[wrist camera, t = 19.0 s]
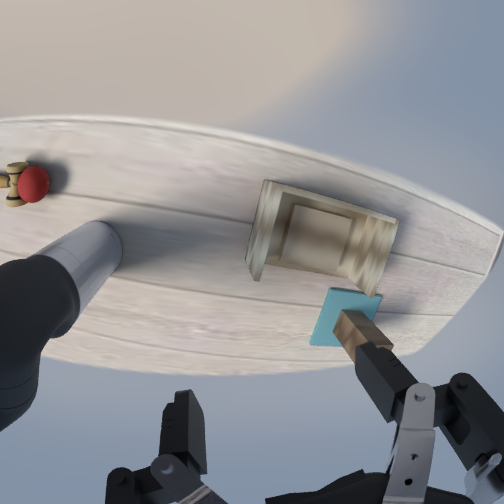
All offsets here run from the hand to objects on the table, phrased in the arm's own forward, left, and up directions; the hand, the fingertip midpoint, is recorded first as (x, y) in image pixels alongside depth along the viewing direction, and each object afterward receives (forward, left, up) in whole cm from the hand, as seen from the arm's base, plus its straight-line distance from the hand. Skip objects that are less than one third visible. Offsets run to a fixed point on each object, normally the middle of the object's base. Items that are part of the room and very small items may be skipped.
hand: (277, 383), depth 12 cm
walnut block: (+18, -23, -32) cm, 43 cm away
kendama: (-35, +18, -34) cm, 52 cm away
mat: (+18, -23, -33) cm, 44 cm away
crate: (+13, -4, -33) cm, 36 cm away
